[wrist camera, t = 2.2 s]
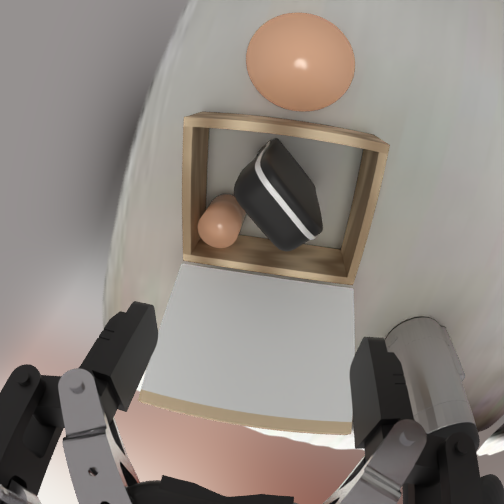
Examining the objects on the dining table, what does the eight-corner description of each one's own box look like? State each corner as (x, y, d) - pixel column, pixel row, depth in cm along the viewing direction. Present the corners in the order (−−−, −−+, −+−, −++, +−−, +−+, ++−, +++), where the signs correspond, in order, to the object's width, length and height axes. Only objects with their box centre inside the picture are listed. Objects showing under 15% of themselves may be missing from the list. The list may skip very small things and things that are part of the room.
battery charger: (245, 157, 30) (219, 195, 20) (275, 134, 28) (264, 160, 19) (288, 208, 32) (283, 268, 22) (317, 188, 31) (327, 241, 21)
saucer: (357, 24, 21) (359, 23, 21) (346, 118, 27) (347, 119, 26) (252, 10, 22) (251, 8, 21) (243, 104, 27) (241, 104, 27)
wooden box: (373, 134, 27) (389, 145, 22) (345, 256, 34) (352, 285, 29) (202, 111, 28) (183, 117, 23) (198, 235, 35) (183, 260, 30)
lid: (351, 433, 20) (346, 434, 21) (353, 288, 29) (350, 293, 30) (138, 400, 21) (141, 402, 22) (181, 263, 30) (183, 269, 31)
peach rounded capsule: (247, 196, 32) (239, 213, 28) (244, 230, 34) (237, 250, 30) (209, 192, 32) (197, 208, 29) (208, 225, 34) (197, 245, 31)
